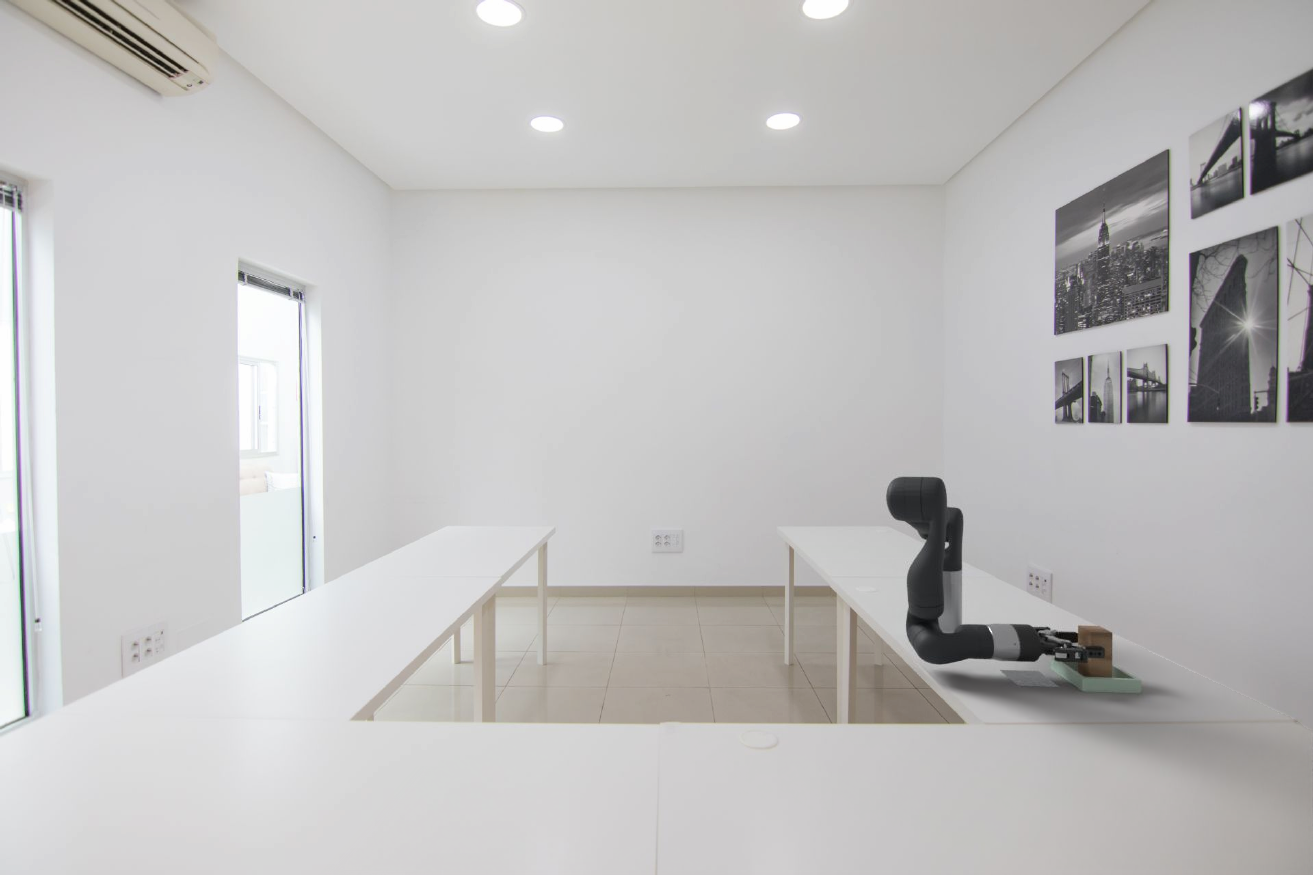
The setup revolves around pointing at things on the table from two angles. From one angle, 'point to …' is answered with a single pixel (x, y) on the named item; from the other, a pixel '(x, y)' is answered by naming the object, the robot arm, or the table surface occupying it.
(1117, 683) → the tray
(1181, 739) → the table surface
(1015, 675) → the mount plate
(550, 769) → the table surface
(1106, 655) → the block
